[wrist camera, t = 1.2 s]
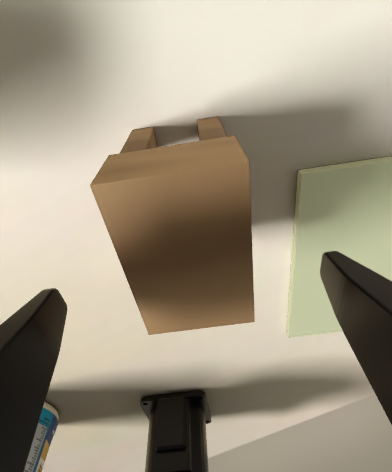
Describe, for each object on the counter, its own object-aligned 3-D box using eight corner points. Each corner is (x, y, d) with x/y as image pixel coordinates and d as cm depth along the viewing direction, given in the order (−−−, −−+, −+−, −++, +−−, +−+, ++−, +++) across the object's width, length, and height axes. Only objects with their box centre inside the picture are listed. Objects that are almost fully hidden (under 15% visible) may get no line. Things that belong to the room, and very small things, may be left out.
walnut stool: (231, 233, 17) (254, 321, 12) (159, 243, 17) (149, 334, 12) (221, 111, 13) (249, 161, 8) (127, 126, 13) (90, 185, 8)
